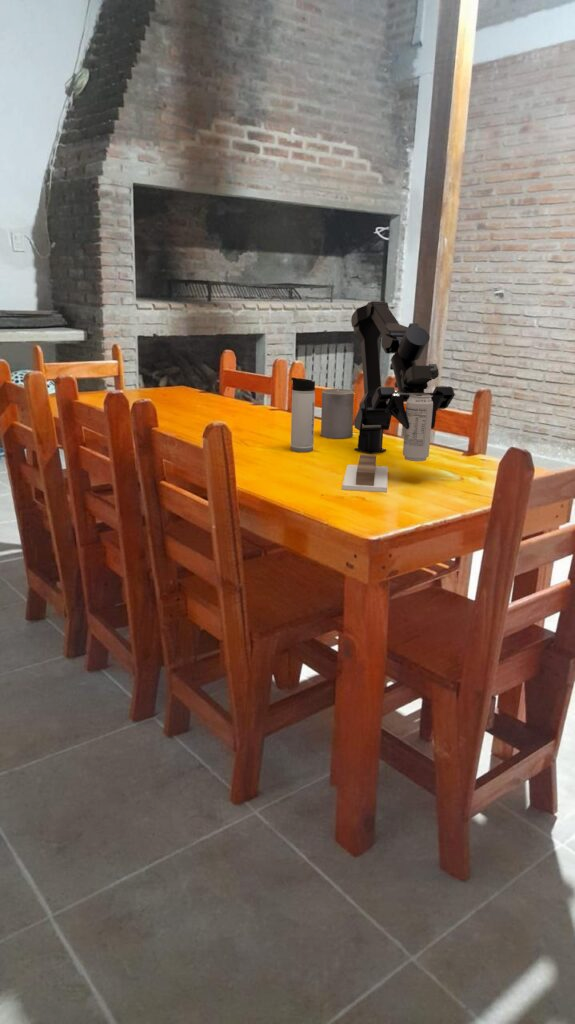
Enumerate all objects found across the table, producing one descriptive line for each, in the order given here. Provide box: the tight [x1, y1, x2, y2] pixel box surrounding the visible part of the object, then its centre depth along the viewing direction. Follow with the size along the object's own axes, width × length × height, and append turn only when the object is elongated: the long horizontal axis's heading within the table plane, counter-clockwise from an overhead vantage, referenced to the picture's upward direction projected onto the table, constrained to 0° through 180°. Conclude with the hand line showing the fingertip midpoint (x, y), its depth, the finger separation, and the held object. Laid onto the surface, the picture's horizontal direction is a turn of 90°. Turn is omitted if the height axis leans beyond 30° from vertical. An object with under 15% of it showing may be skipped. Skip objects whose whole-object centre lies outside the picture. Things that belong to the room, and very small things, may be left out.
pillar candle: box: [320, 386, 355, 440], centre depth 218 cm, size 10×10×15 cm
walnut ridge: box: [356, 454, 377, 486], centre depth 170 cm, size 18×4×3 cm, turn 172°
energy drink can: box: [402, 393, 433, 462], centre depth 166 cm, size 6×6×15 cm
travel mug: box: [290, 377, 316, 453], centre depth 197 cm, size 6×7×20 cm
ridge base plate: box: [341, 464, 389, 493], centre depth 170 cm, size 20×10×1 cm, turn 172°
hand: (420, 428), depth 165 cm, fingers closed on energy drink can, 6 cm apart
